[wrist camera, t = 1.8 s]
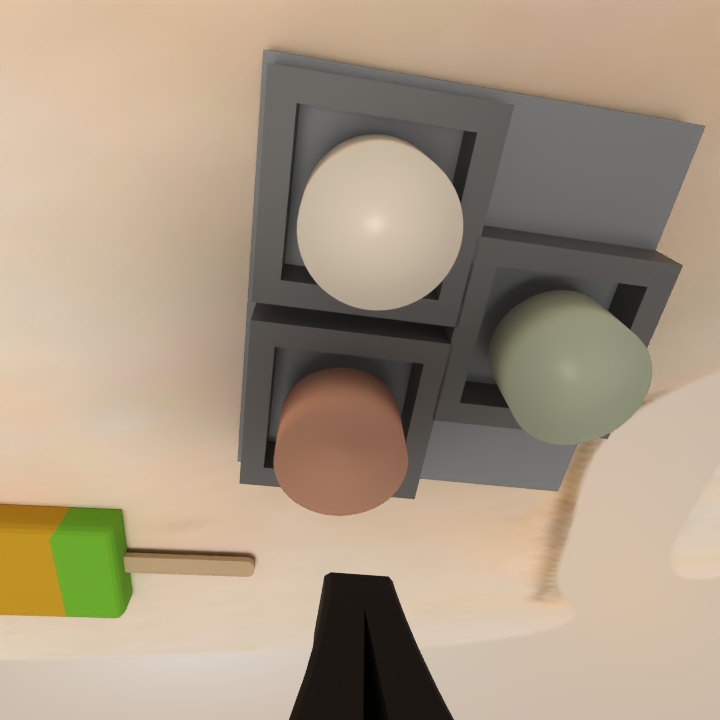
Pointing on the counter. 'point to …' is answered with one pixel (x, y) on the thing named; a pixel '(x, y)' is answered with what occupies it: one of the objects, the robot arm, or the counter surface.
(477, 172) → the grey compartment tray
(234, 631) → the counter surface
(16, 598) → the striped ice pop
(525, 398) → the sage button
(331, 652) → the robot arm
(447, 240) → the cream button
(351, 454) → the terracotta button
